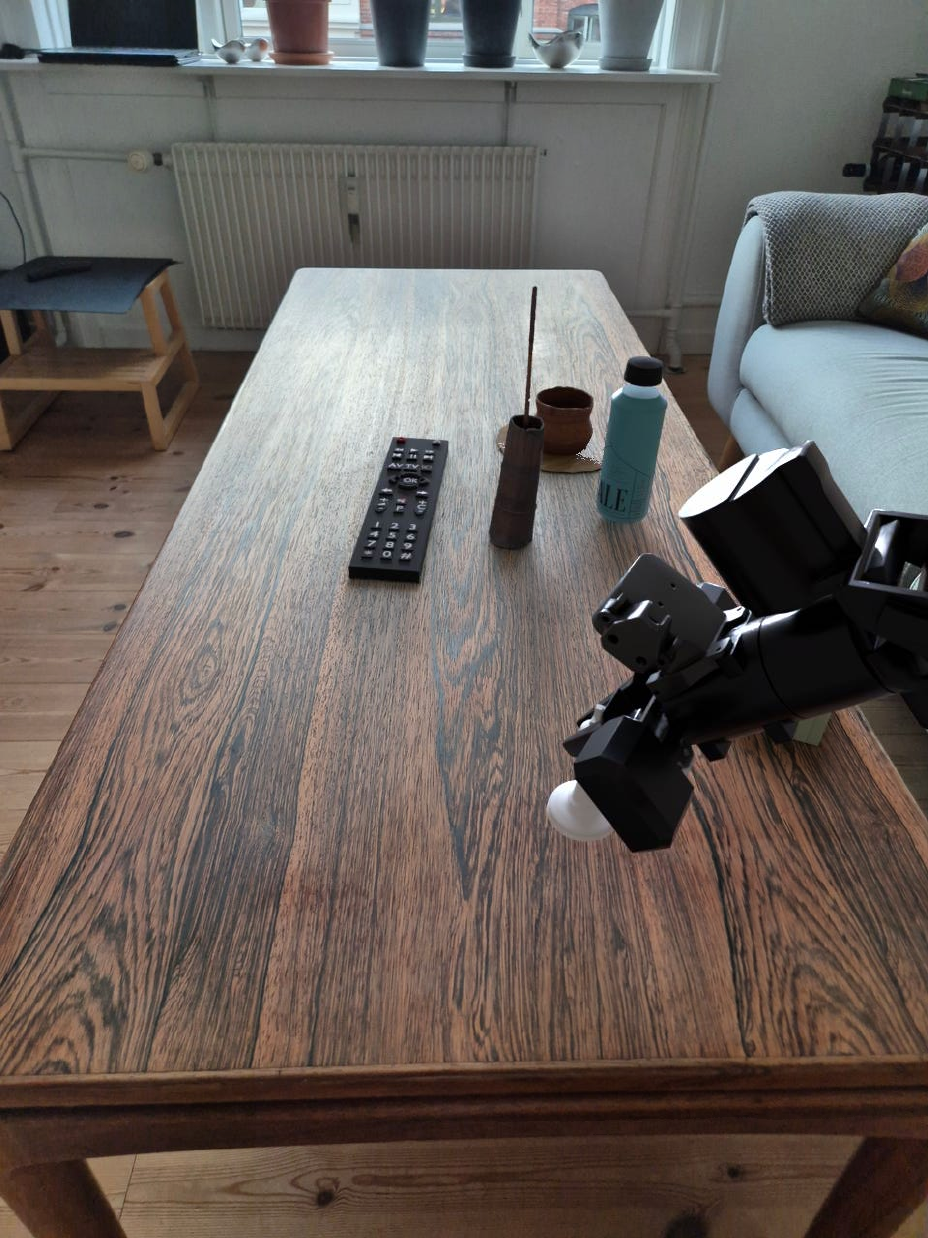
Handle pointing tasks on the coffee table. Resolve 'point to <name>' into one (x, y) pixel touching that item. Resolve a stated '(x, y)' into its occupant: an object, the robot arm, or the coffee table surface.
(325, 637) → the coffee table surface
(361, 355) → the coffee table surface
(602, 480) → the beverage bottle
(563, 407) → the ceramic pot
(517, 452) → the butter churn
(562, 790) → the chess piece
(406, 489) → the remote control
